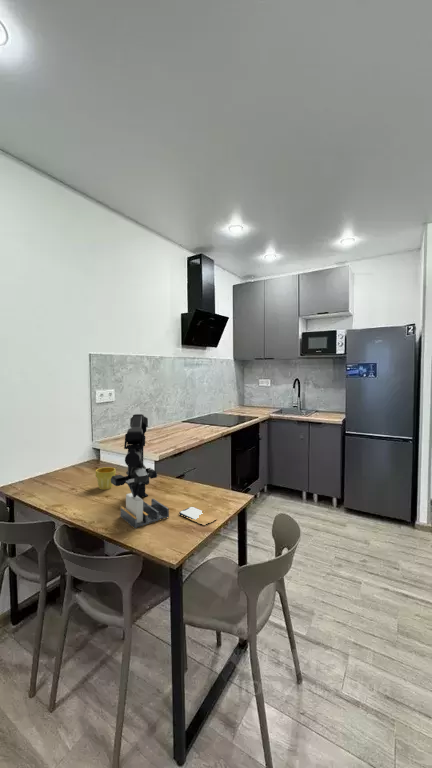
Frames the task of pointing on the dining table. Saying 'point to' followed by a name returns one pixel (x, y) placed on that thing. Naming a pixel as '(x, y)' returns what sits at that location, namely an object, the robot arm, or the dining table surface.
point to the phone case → (191, 512)
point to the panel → (135, 506)
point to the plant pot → (105, 477)
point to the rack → (146, 514)
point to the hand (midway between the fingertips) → (134, 496)
